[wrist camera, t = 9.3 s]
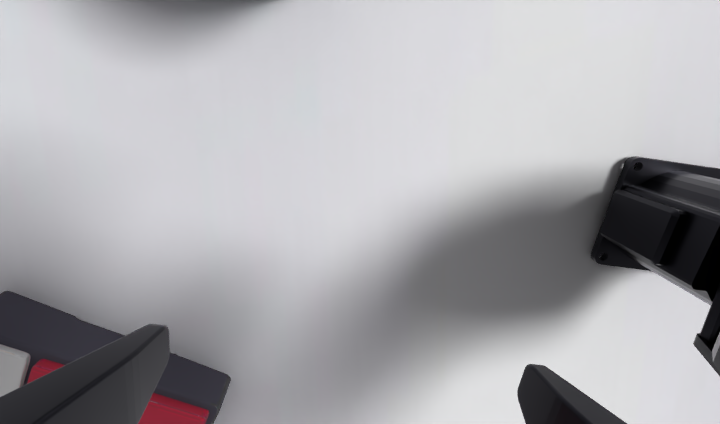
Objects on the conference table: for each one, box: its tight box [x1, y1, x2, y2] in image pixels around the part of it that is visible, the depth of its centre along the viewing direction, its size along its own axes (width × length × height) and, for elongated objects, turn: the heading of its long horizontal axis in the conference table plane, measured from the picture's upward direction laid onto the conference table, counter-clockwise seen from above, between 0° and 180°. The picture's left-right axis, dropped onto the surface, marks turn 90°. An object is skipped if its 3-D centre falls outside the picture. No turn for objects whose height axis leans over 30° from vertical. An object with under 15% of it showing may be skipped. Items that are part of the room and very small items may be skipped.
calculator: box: [0, 291, 230, 424], centre depth 23 cm, size 11×4×15 cm
